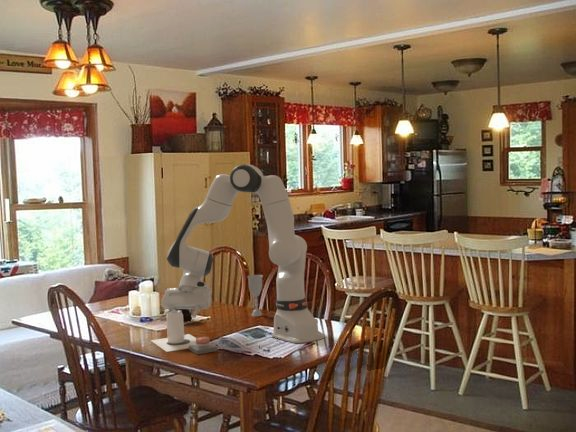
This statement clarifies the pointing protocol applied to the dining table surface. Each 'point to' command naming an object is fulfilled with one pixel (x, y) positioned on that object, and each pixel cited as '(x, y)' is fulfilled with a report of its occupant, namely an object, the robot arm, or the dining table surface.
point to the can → (175, 327)
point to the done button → (202, 340)
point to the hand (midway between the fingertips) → (181, 317)
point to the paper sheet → (174, 347)
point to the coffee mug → (186, 314)
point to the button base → (203, 348)
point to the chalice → (255, 291)
